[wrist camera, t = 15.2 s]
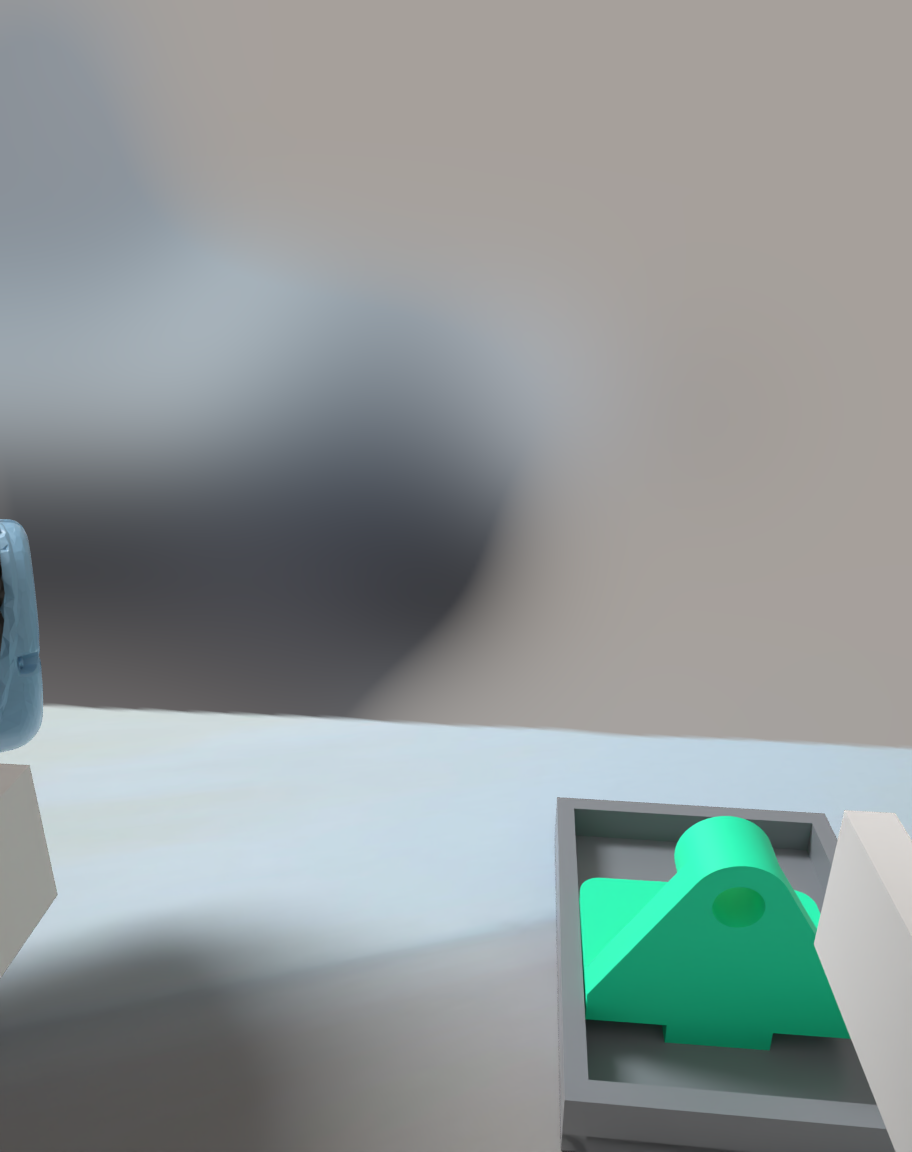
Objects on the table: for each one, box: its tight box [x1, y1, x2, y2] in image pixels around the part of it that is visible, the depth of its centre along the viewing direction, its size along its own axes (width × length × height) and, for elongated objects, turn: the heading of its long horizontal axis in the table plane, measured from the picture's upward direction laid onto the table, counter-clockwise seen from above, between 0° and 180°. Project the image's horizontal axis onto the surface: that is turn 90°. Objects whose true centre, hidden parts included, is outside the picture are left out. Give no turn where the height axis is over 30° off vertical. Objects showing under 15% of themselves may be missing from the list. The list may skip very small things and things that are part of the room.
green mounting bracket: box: [579, 816, 851, 1050], centre depth 41 cm, size 12×8×10 cm, turn 85°
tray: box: [555, 797, 895, 1152], centre depth 44 cm, size 16×20×3 cm
